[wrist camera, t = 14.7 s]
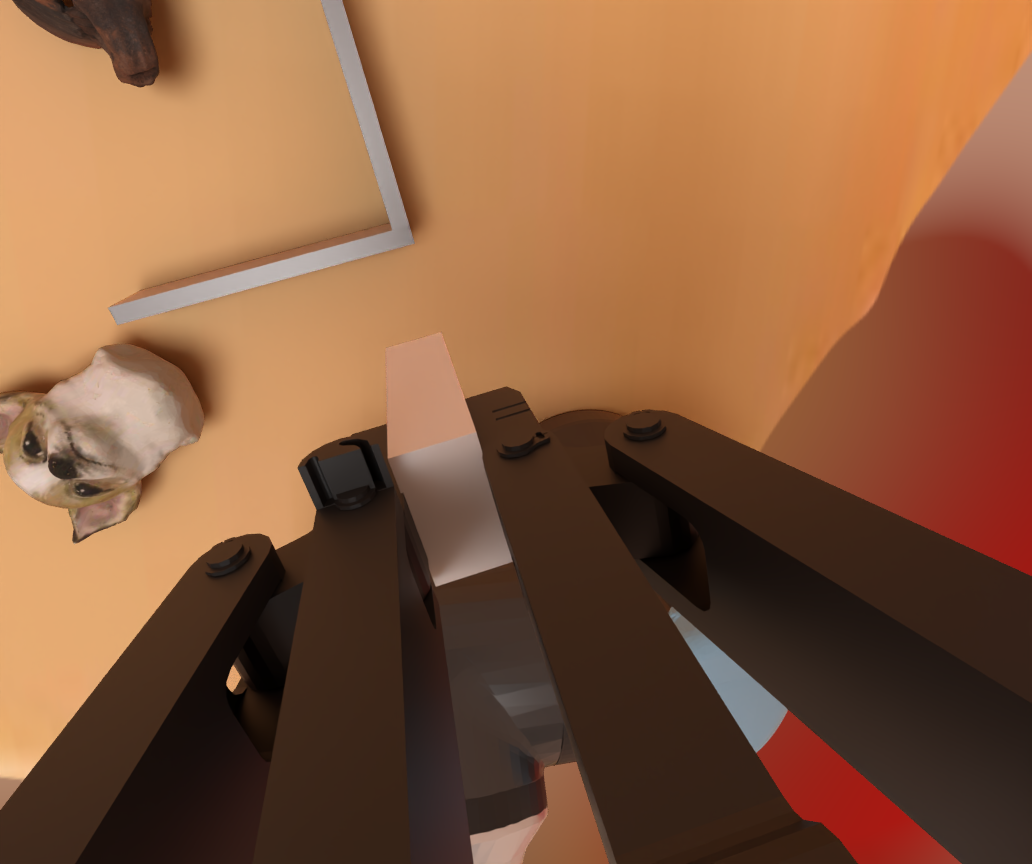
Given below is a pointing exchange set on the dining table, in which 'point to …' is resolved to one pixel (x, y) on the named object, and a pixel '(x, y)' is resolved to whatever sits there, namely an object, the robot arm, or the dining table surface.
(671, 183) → the dining table surface
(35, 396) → the ceramic sculpture
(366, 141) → the walled box
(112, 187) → the dining table surface
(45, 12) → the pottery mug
